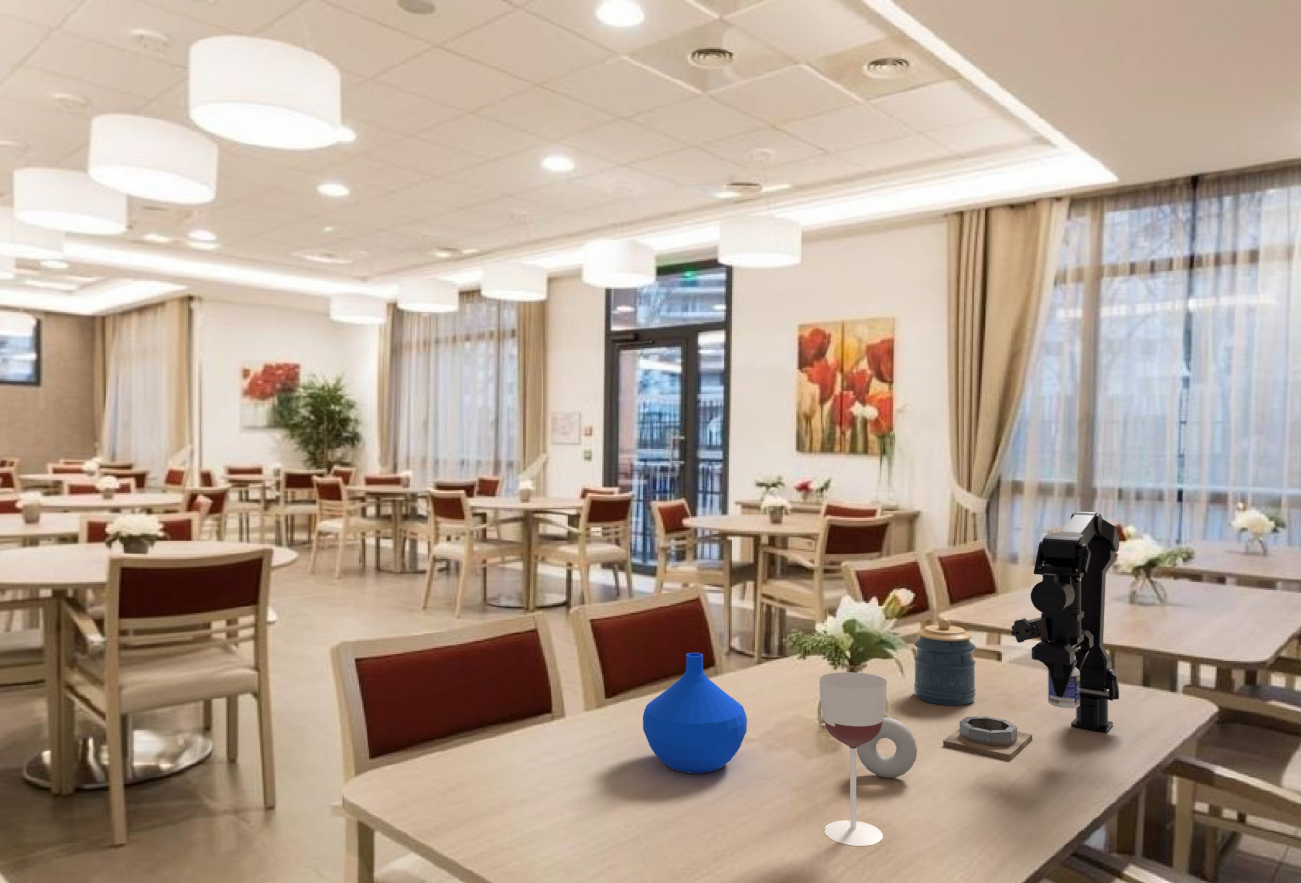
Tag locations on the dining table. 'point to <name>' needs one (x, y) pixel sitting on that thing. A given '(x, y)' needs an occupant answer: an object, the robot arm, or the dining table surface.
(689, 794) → the dining table surface
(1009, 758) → the tan board
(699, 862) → the dining table surface
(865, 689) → the wineglass
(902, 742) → the donut
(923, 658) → the canister
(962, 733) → the ring collar
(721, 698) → the vase
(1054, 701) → the pill bottle
